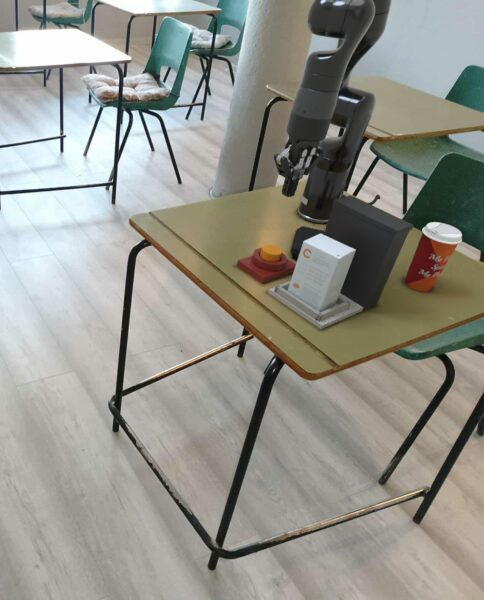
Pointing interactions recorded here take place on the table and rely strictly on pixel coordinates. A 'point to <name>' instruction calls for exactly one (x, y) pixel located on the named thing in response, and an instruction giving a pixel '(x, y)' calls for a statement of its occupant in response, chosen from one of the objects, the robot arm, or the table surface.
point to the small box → (320, 271)
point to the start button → (271, 253)
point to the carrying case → (302, 239)
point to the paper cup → (432, 255)
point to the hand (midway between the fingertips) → (287, 195)
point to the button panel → (265, 267)
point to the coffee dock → (355, 259)
